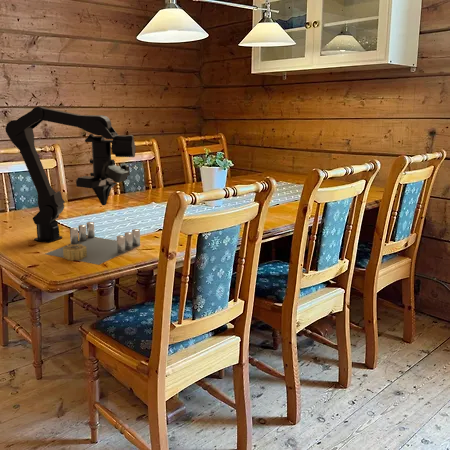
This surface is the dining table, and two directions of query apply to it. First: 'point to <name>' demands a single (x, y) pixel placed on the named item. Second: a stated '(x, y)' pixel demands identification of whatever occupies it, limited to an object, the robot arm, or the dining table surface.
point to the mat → (94, 250)
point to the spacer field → (122, 241)
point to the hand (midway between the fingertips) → (103, 205)
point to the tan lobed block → (74, 252)
